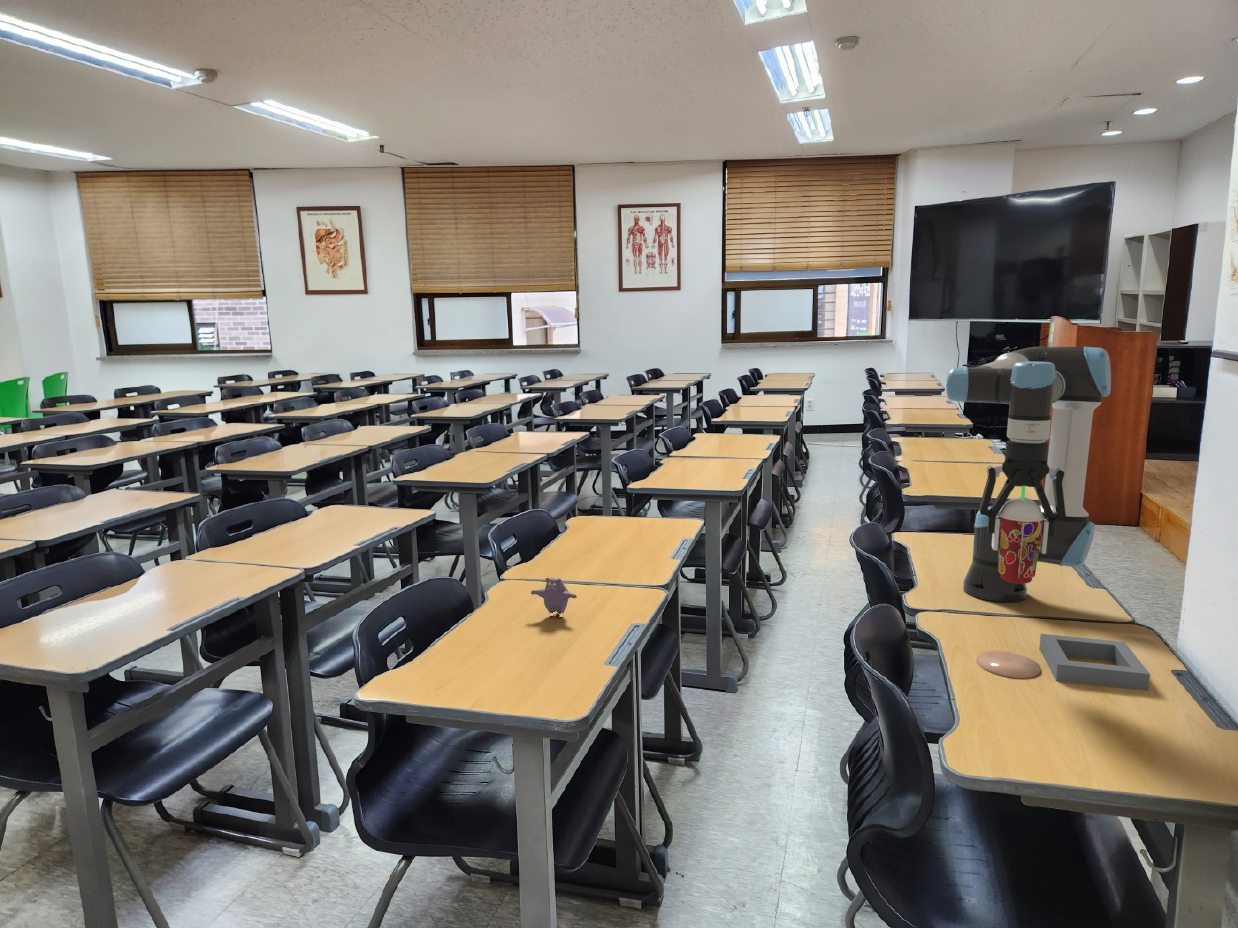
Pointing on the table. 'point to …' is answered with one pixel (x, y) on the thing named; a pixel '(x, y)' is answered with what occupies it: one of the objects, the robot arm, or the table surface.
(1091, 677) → the holder
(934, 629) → the table surface
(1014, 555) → the smoothie
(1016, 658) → the pink flat disc
